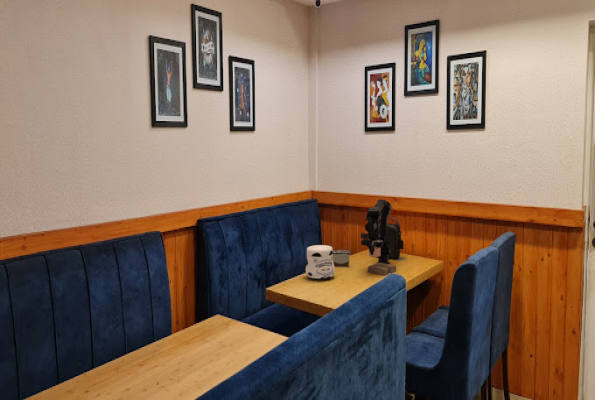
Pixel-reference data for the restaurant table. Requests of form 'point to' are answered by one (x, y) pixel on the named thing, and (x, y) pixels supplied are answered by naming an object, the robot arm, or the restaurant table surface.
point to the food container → (341, 258)
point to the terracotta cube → (375, 252)
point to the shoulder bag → (394, 240)
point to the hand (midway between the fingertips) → (374, 254)
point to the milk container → (320, 262)
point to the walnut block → (382, 269)
